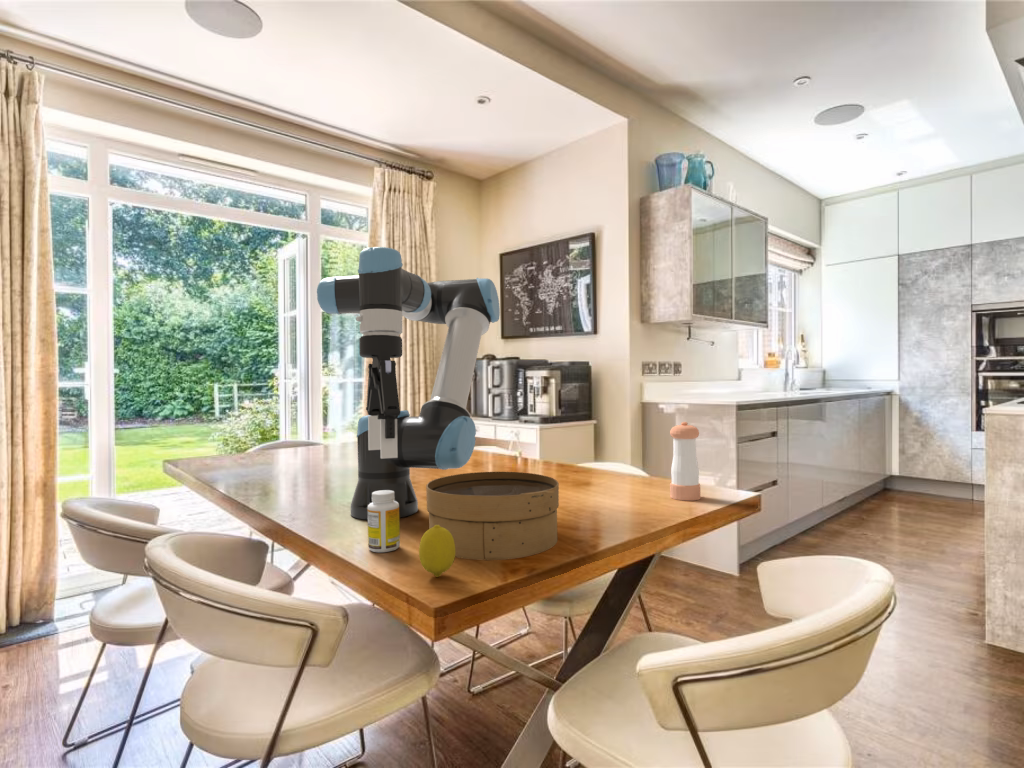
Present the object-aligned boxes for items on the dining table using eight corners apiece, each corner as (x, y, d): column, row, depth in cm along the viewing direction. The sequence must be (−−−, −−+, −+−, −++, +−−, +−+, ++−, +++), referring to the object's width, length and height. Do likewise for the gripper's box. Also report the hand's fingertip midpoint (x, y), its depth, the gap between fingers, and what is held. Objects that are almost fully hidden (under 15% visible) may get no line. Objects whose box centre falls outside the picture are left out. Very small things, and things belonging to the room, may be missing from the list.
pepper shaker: (704, 500, 134) (703, 422, 134) (675, 501, 134) (674, 423, 134) (694, 494, 141) (693, 420, 141) (666, 494, 141) (665, 421, 141)
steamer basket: (585, 547, 97) (584, 484, 97) (452, 572, 86) (450, 501, 86) (525, 518, 119) (523, 467, 119) (413, 534, 109) (411, 478, 109)
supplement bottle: (401, 543, 101) (400, 488, 101) (398, 552, 95) (397, 494, 95) (370, 544, 100) (370, 489, 100) (365, 554, 95) (364, 495, 95)
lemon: (412, 577, 83) (411, 525, 83) (440, 568, 87) (439, 518, 87) (435, 586, 79) (434, 531, 79) (463, 576, 83) (462, 524, 83)
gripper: (351, 340, 108) (352, 447, 108) (370, 327, 85) (371, 463, 85) (389, 341, 111) (390, 445, 111) (417, 329, 88) (419, 460, 88)
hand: (382, 453), depth 98 cm, fingers open, 13 cm apart
